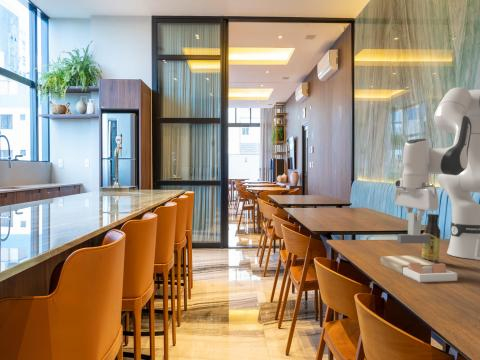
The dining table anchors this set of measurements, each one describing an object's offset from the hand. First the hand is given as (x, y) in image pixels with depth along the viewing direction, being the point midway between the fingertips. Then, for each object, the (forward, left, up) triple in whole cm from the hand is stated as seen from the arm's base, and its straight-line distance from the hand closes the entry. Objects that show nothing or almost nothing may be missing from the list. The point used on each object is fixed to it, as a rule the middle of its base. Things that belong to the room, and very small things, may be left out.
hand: (414, 220), depth 132 cm
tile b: (+4, +6, -17) cm, 18 cm away
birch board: (0, -3, -19) cm, 19 cm away
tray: (0, +9, -19) cm, 21 cm away
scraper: (0, 0, -8) cm, 8 cm away
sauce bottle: (-15, -10, -19) cm, 26 cm away
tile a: (-4, +8, -16) cm, 18 cm away
